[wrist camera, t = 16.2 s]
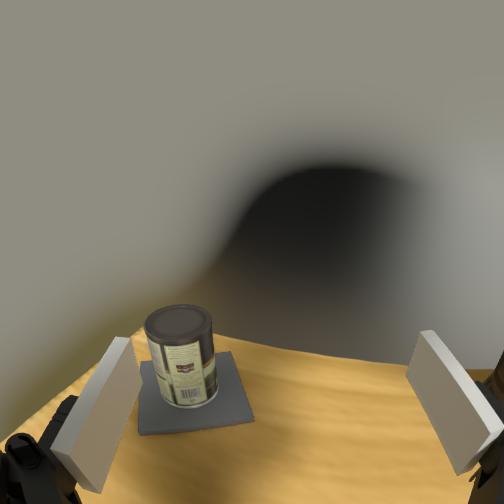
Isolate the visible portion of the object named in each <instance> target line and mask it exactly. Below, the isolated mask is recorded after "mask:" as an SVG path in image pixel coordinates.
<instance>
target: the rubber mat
mask: <svg viewBox="0 0 504 504" xmlns="http://www.w3.org/2000/svg"><path fill="white" fill-rule="evenodd" d="M215 363H216V371H217V379H218V384H219V390H218V393H217V395H216V397H215V398H214V399H213V400H212V401H210V402H209V403H208V404H206V405H203V406H201V407H198V408H192V409H183V408H178V407H174V406H172V405H170V404H169V403H167V402H166V401H165V400H164V399H163V397H162V395H161V391H160V386H159V383H158V379H157V376H156V372H155V368H154V364H153V360H152V361H141V364H140V374H141V377H142V381H143V384H142V387H141V389H140V392H139V412H138V432H139V434H140V435H154V434H167V433H178V432H187V431H196V430H204V429H211V428H218V427H224V426H231V425H236V424H242V423H247V422H253V421H254V416H253V413H252V410H251V408H250V405H249V402H248V399H247V397H246V394H245V391H244V388H243V386H242V383H241V380H240V377H239V374H238V371H237V369H236V366H235V363H234V360H233V357H232V354H231V351H229V352H222V353H215Z"/></svg>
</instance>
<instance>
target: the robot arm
mask: <svg viewBox="0 0 504 504" xmlns="http://www.w3.org/2000/svg"><path fill="white" fill-rule="evenodd" d="M406 377H407V379H408V381H409V383H410V384H411V386H412V388H413V390H414V392H415V393H416V395H417V397H418V399H419V401H420V403H421V405H422V406H423V408H424V410H425V412H426V414H427V416H428V418H429V420H430V422H431V424H432V426H433V427H434V429H435V431H436V433H437V435H438V437H439V439H440V441H441V443H442V445H443V447H444V449H445V452H446V454H447V456H448V458H449V460H450V462H451V464H452V466H453V468H454V470H455V473H456V475H457V476H458V475H461V474H463V473H465V472H468V471H470V470H472V469H473V467H474V466H475V465H476V464H477V463H478V461H479V463H480V465H481V467H480V468H479V469H478V470H477V471H476V472H475V473H474V475H473V476H472V477H471V478H470V480H469V482H471V481H472V480H473V479H474V478H475V477H476V479H475V482H474V486H473V489H472V492H471V496H470V499H469V502H468V504H504V351H503V353H502V356H501V358H500V360H499V362H498V364H497V366H496V368H495V370H494V372H493V373H492V374H491V375H490V376H489V377H488V378H487V379H486V380H485V381H484V382H483V383H481V382H479V381H475V382H473V380H472V379H471V378H470V376H469V375H468V374H467V372H466V371H465V370H464V368H463V367H462V366H461V365H460V363H459V362H458V361H457V359H456V358H455V357H454V356H453V354H452V353H451V352H450V350H449V349H448V348H447V347H446V345H445V344H444V343H443V342H442V340H441V339H440V338H439V337H438V336H437V334H436V333H435V332H434V331H433V330H426V331H420V332H419V336H418V339H417V342H416V345H415V349H414V352H413V355H412V358H411V361H410V364H409V367H408V370H407V373H406ZM142 384H143V381H142V377H141V374H140V371H139V367H138V364H137V360H136V356H135V353H134V349H133V345H132V341H131V338H124V337H115V339H114V340H113V342H112V343H111V345H110V346H109V348H108V350H107V351H106V353H105V354H104V356H103V358H102V359H101V361H100V362H99V364H98V366H97V367H96V369H95V371H94V372H93V374H92V376H91V377H90V379H89V381H88V382H87V384H86V386H85V387H84V389H83V391H82V392H81V394H80V396H79V397H78V396H74V395H70V396H69V397H67V398H66V399H65V400H64V401H62V402H61V404H60V406H59V407H58V409H57V411H56V413H55V414H54V416H53V417H52V421H50V422H49V424H48V426H47V427H46V429H45V431H44V433H43V434H42V436H41V438H40V440H39V441H38V443H37V442H36V441H35V440H34V438H33V437H32V436H30V435H29V434H26V433H17V434H15V435H12V436H11V437H10V438H9V439H8V440H7V442H6V444H5V452H6V453H3V452H2V451H1V450H0V504H82V502H81V500H80V497H79V495H78V493H77V491H76V490H75V486H76V483H78V484H79V485H80V486H81V487H82V488H83V489H85V490H88V491H91V492H95V493H98V494H101V492H102V489H103V486H104V484H105V481H106V478H107V475H108V472H109V470H110V467H111V464H112V461H113V459H114V456H115V453H116V451H117V448H118V445H119V443H120V440H121V437H122V435H123V432H124V430H125V427H126V424H127V422H128V419H129V417H130V414H131V412H132V409H133V407H134V404H135V402H136V399H137V397H138V394H139V392H140V389H141V387H142Z"/></svg>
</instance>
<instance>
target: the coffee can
mask: <svg viewBox="0 0 504 504" xmlns="http://www.w3.org/2000/svg"><path fill="white" fill-rule="evenodd" d="M144 330H145V333H146V336H147V340H148V344H149V348H150V352H151V356H152V360H153V364H154V368H155V372H156V376H157V379H158V383H159V386H160V391H161V395H162V397H163V399H164V400H165V401H166V402H167V403H169V404H170V405H172V406H174V407H178V408H183V409H192V408H198V407H201V406H203V405H206V404H208V403H209V402H210V401H212V400H213V399H214V398H215V397H216V395H217V393H218V390H219V384H218V379H217V371H216V363H215V354H214V344H213V335H212V317H211V314H210V313H209V312H208V311H207V310H205V309H204V308H202V307H199V306H196V305H189V304H177V305H170V306H166V307H163V308H160V309H158V310H156V311H154V312H152V313H151V314H150V315H149V316H148V317H147V318H146V319H145V321H144Z"/></svg>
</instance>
